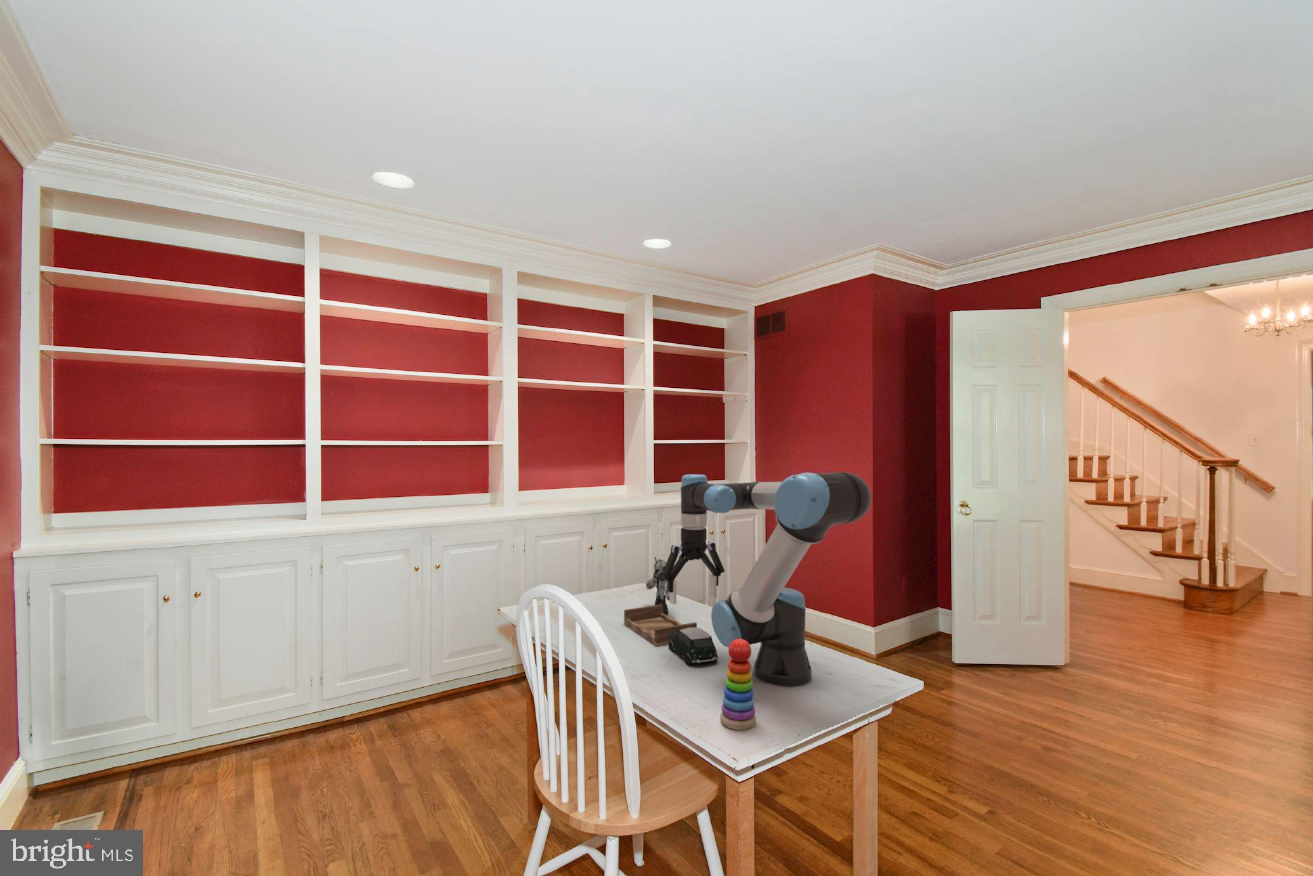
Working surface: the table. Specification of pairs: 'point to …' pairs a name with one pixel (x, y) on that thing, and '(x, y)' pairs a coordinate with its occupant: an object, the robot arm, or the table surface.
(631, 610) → the cradle
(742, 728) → the stacking toy
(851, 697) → the table surface
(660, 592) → the robot
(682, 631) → the miniature car
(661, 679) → the table surface
